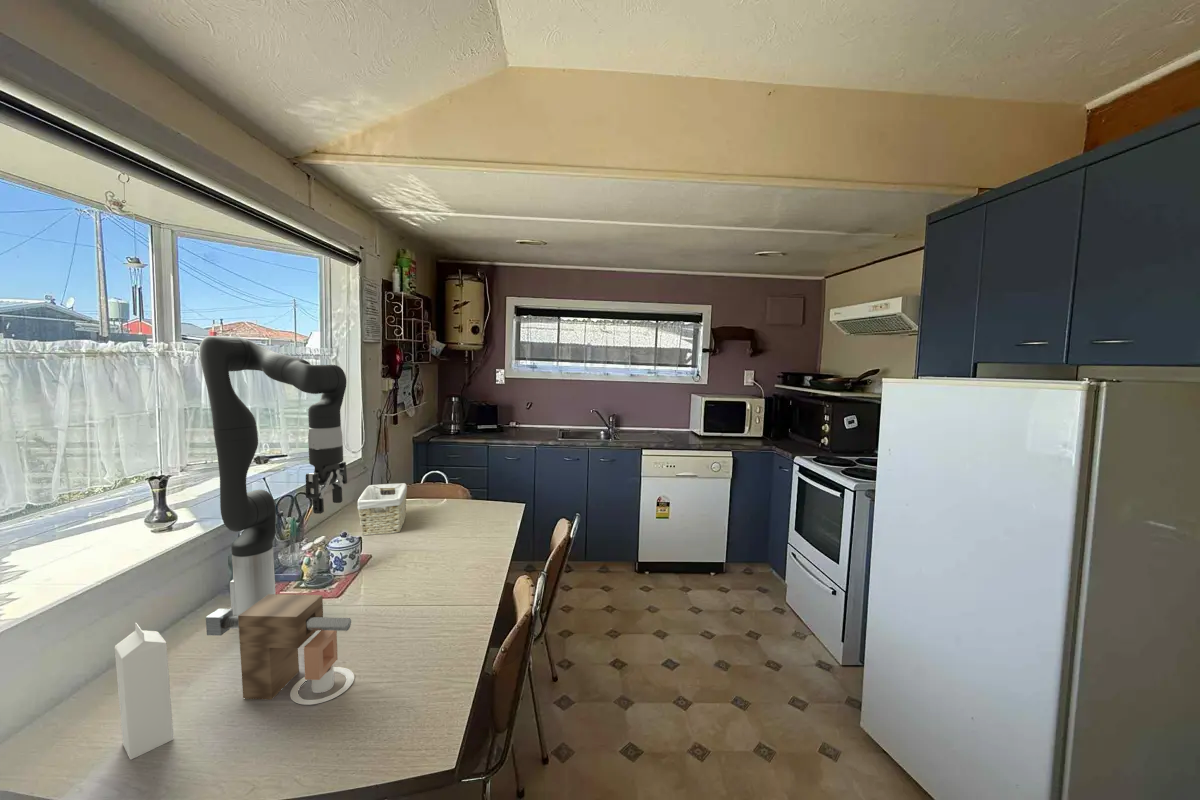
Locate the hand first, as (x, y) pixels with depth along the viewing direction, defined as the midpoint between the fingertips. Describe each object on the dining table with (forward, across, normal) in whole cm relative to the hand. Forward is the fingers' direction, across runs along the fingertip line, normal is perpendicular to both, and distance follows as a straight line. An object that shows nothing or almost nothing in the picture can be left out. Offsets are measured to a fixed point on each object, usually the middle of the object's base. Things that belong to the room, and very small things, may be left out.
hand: (328, 507), depth 125 cm
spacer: (+28, +22, +10) cm, 37 cm away
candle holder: (+33, +22, +10) cm, 41 cm away
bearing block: (+32, +22, +2) cm, 39 cm away
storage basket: (+32, -76, -21) cm, 85 cm away
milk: (+32, +38, -13) cm, 52 cm away
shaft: (+20, +22, +1) cm, 30 cm away
